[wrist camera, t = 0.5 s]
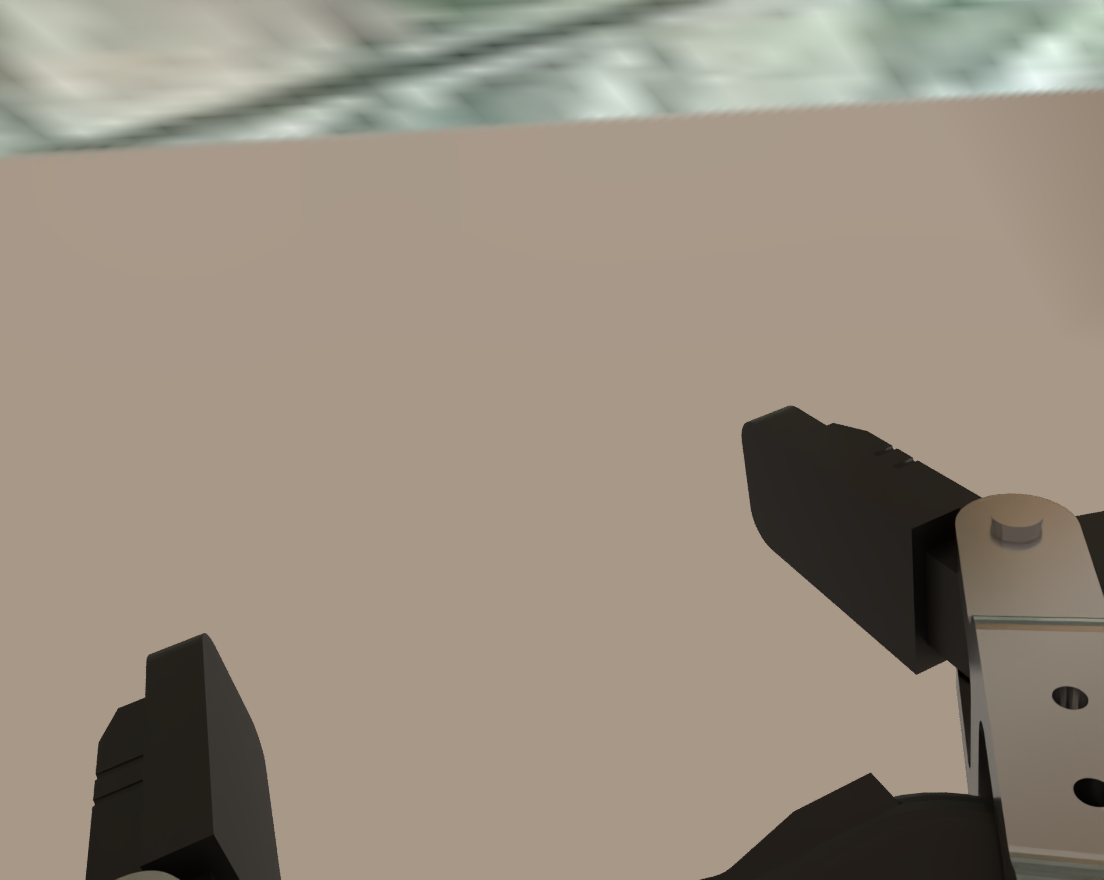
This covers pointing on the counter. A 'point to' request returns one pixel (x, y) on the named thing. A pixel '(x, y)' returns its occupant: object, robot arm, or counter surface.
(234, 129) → the counter surface
